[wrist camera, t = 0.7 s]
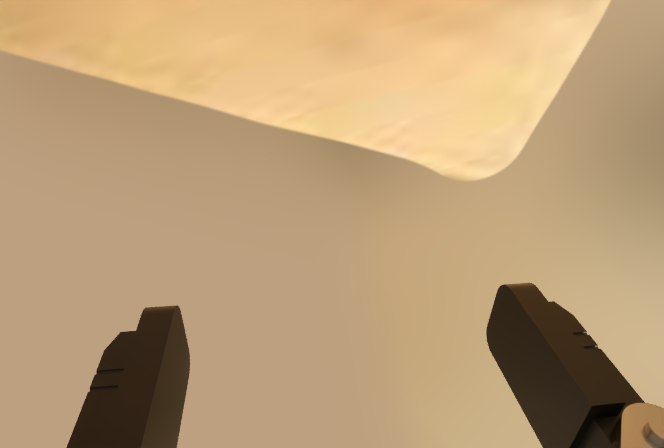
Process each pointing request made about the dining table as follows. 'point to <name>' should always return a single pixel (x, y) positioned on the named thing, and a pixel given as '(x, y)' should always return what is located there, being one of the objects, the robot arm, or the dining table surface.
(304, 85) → the dining table surface
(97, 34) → the dining table surface
